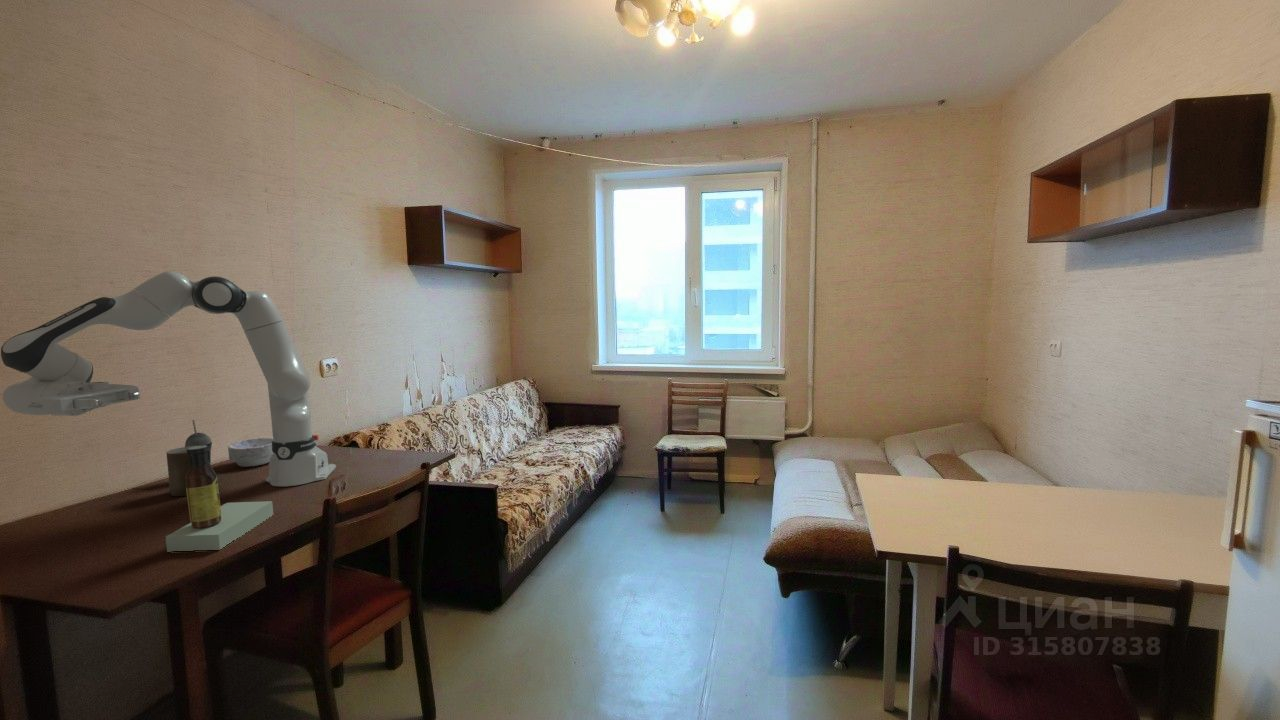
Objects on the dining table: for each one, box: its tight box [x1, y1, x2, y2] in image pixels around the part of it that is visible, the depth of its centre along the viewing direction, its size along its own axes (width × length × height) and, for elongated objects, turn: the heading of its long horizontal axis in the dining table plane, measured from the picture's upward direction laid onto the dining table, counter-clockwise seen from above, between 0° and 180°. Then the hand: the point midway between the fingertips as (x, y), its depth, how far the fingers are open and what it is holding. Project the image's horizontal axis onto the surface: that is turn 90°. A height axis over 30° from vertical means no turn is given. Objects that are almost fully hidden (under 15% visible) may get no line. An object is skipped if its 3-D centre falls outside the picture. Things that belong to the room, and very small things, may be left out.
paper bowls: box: [227, 437, 273, 468], centre depth 203 cm, size 15×15×8 cm
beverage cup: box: [184, 419, 213, 466], centre depth 186 cm, size 7×7×20 cm
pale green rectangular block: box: [165, 500, 274, 553], centre depth 142 cm, size 22×12×4 cm, turn 5°
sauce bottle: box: [185, 445, 222, 528], centre depth 137 cm, size 6×6×20 cm
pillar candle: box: [165, 444, 194, 497], centre depth 173 cm, size 10×10×15 cm
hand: (118, 399), depth 140 cm, fingers open, 8 cm apart
